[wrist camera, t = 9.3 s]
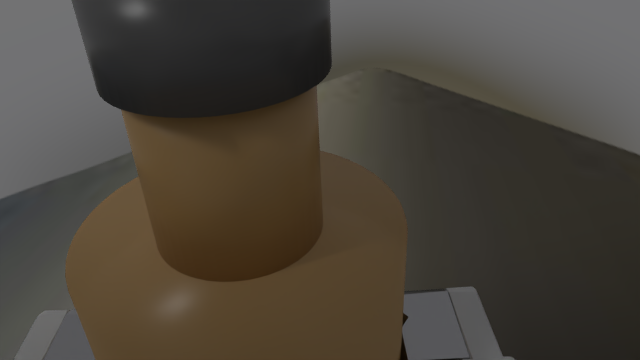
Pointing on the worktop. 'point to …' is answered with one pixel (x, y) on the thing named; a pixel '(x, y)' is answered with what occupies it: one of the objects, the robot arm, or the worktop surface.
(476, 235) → the worktop surface
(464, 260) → the worktop surface
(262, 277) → the reagent bottle
